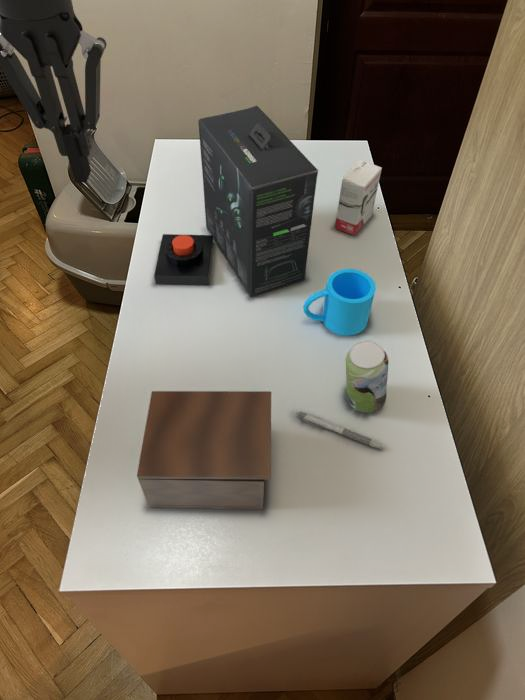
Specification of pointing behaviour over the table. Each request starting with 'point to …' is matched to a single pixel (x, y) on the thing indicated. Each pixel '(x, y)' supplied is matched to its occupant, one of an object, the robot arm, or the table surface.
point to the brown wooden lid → (207, 435)
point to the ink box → (357, 197)
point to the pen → (338, 429)
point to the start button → (183, 245)
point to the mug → (345, 302)
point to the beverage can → (366, 376)
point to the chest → (204, 493)
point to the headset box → (257, 198)
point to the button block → (184, 262)
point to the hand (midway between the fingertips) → (83, 176)
